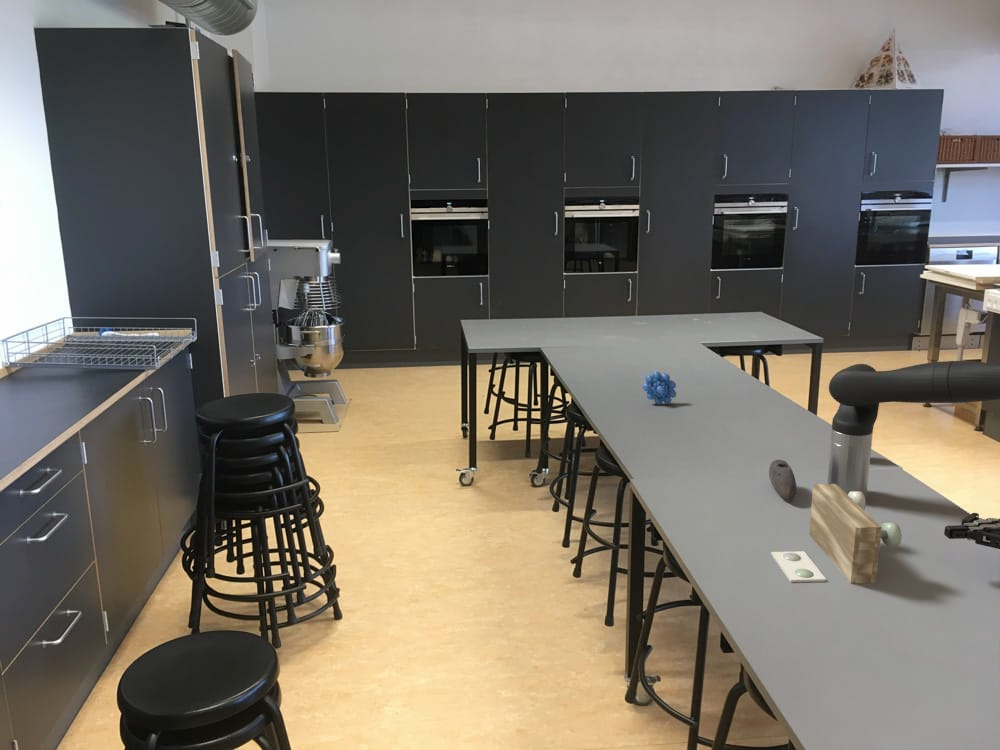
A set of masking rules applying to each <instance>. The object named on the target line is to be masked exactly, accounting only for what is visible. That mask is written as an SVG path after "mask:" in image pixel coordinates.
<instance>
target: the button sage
mask: <svg viewBox="0 0 1000 750" xmlns="http://www.w3.org/2000/svg"><path fill="white" fill-rule="evenodd" d="M880 526H881V527H882V528H881V538H880V539H881V540H882V542H883V544H884V545H885V546H899V545H900V544H901V542H902V532H901V531H902V530H901V528H900V526H899V524H898V523H897V522H884V523H882V524H881V525H880Z"/></svg>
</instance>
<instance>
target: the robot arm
mask: <svg viewBox="0 0 1000 750" xmlns="http://www.w3.org/2000/svg"><path fill="white" fill-rule="evenodd" d="M828 391H829V394H830V396H831V397H832V398H833V400H834V401H836V402H837V403H839V407H838V409H837V410H836V413H835V415H834V416H833V418H832V423H831V432H830V433H831V434H830V447H829V458H828V470H827V471H828V472H827V480H826V481H827V482H826V484H837V485H838V486H839V487H840V488H841V489H842V490H843V491H844V492H845V493H846V494H847V495H848V494H849V492H854V491H861V492H862V493H863V494H864V497H865V500H867V495H868V485H869V476H870V465H871V464H870V463H871V456H872V455H871V454H872V446H873V444H872V442H873V432H874V426H875V423H876V421H877V419H878V414H879V407H880V404H883V403H910V404H911V403H912V404H961V403H974V402H975V403H976V402H989V401H996V400H999V401H1000V364H999V363H990V362H983V361H974V360H946V361H944V360H943V361H935V362H934V361H933V362H927V363H920V364H915V365H910V366H906V367H901V368H897V369H890V370H876V368H874V367H872V366H871V365H869V364H866V363H855V364H853V365H850V366H847V367H845V368H843V369H841V370H839V371H838V372H836V373H835V374H834V375H833V376H832V378H831V379H830V380H829V384H828ZM943 533H944V534H943V535H944V536H945V537H946V538H947V539H950V540H959V539H967V540H968V541H970V542H971V541H975V544H976V545H980V546H984V547H989V548H993V549H997V550H1000V518H995V517H988V518H982V517H980V514H979V513H977V512H972V513H970V514H969V515H967V516H966V517H964V518H962V519H961V524H960V525H957V524H956V525H955V524H953V525H945V527H944V532H943Z"/></svg>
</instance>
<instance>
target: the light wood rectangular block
mask: <svg viewBox="0 0 1000 750" xmlns="http://www.w3.org/2000/svg"><path fill="white" fill-rule="evenodd" d="M811 496H812V497H811V506H810V507H811V508H810V518H809V519H810V520H809V533H808V534H809V535H810V537H811V539H813V540H814V541H815V543H816V544H817V545H818V547H819V548H820V549H821V550H822V551H823V552H824V554H825V555H826V556H827V557H828V558H829V559H830V561H831V562H832V563H833V564H834V566H835V567H836V568H837V569H838V570H839V572H840V573H841V574H842V575H843V576H844V577H845V579H846V580H847V581H848V583H850V584H875V583H877V577H878V576H877V575H878V565H879V557H880V556H879V555H880V546H881V539H882V538H881V528H882V527H881V526H882V525H880V524H879V523H878V522H877V521H876V520H875V519H874V518H872V516H871V515H869V514H868V513H867V512H866V510H863V509H862V508H861V507H860V506H859V505H858V504H857V503H856V502H854V501H853V500H852V499H851V498H850V497H849V496H848V495H847V494H846V493H845V492H844V491H843V490H842V489H841V488H840V487H839V486H838V485H837V484H827V483H825V484H822V483H821V484H819V483H818V484H813V485H812V494H811Z"/></svg>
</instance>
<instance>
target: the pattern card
mask: <svg viewBox="0 0 1000 750" xmlns="http://www.w3.org/2000/svg"><path fill="white" fill-rule="evenodd" d="M770 555H771V556H772V557H773V560H774V561H775V562H776V563H777V565H778V566H779V568H780V570H782V572H783V573H784V575H785V576H786V577H787V580H789V582H790V583H810V582H811V583H813V582H815V583H816V582H819V583H820V582H821V583H822V582H827V578H826V577H825V576H824V574H822V571H820V570H819V568H818V567H817V565H816V564H815V563H814V562H813V561H812V559H811V558H810V557H809V556H808V554H807V553H806V552H805V551H803V550H801V551H800V550H799V551H771V552H770Z"/></svg>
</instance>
